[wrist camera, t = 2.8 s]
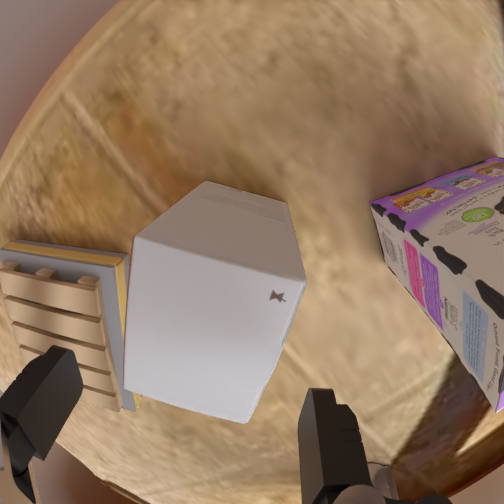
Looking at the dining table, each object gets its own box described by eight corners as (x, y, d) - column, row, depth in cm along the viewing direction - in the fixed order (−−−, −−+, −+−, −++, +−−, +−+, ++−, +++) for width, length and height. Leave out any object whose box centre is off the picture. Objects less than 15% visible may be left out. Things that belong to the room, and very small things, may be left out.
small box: (204, 178, 22) (130, 230, 10) (289, 201, 23) (314, 280, 10) (182, 277, 25) (120, 391, 13) (258, 298, 25) (250, 427, 13)
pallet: (102, 278, 22) (93, 287, 21) (124, 402, 27) (119, 414, 26) (7, 260, 22) (-3, 267, 21) (40, 376, 27) (33, 384, 26)
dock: (130, 251, 25) (115, 266, 22) (145, 392, 30) (136, 411, 27) (18, 237, 25) (-1, 247, 22) (48, 365, 30) (36, 380, 28)
